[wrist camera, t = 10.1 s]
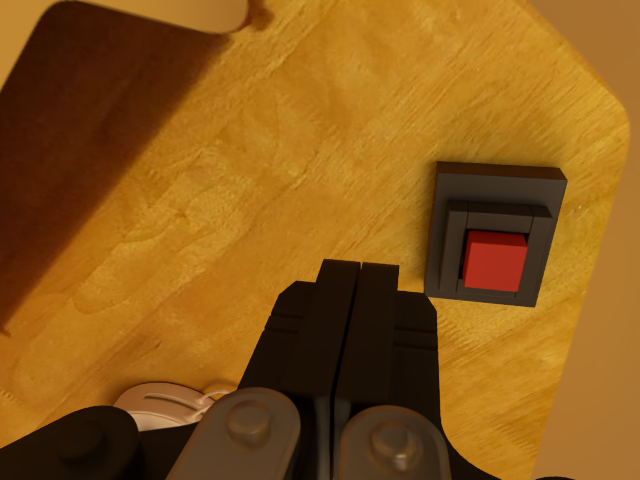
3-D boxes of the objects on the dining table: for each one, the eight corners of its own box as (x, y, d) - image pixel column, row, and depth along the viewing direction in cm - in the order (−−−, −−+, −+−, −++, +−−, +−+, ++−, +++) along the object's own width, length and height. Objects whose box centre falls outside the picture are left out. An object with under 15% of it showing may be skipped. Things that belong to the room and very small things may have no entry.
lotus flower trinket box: (162, 551, 53) (290, 501, 45) (49, 467, 49) (165, 394, 41) (188, 493, 59) (306, 439, 50) (89, 414, 55) (198, 340, 46)
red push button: (437, 161, 34) (438, 182, 30) (559, 167, 32) (575, 191, 29) (423, 280, 39) (423, 311, 35) (529, 290, 37) (540, 323, 34)
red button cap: (468, 229, 32) (471, 242, 30) (523, 233, 31) (528, 246, 30) (461, 272, 34) (463, 287, 32) (513, 277, 33) (517, 292, 31)
